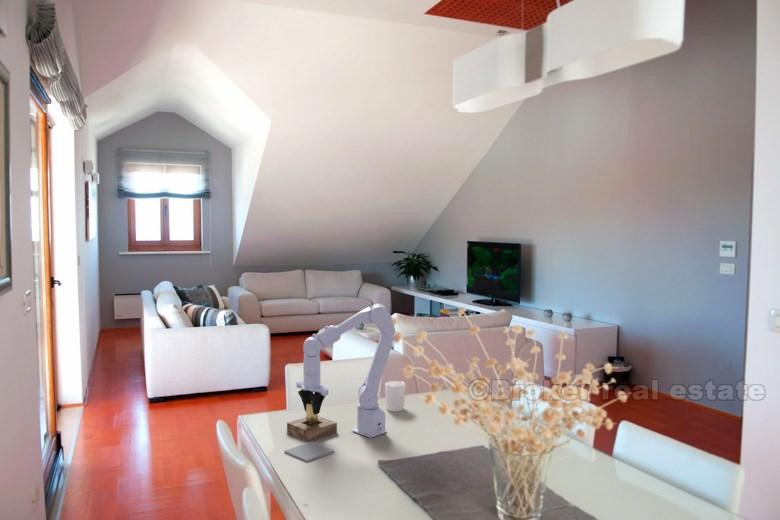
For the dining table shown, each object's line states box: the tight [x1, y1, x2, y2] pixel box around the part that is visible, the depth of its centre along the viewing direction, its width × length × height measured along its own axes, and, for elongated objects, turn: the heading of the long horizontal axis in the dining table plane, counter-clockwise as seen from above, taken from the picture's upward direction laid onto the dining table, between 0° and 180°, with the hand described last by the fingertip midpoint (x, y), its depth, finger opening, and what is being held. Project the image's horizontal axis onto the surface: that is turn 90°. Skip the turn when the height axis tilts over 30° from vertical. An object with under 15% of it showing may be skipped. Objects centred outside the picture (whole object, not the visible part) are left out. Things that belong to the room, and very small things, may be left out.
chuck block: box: [286, 415, 338, 442], centre depth 206 cm, size 12×12×4 cm
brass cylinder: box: [305, 402, 319, 426], centre depth 206 cm, size 4×4×8 cm
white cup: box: [384, 380, 406, 413], centre depth 233 cm, size 8×8×10 cm
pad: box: [283, 441, 335, 463], centre depth 189 cm, size 11×11×1 cm
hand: (312, 412), depth 206 cm, fingers closed on brass cylinder, 4 cm apart
